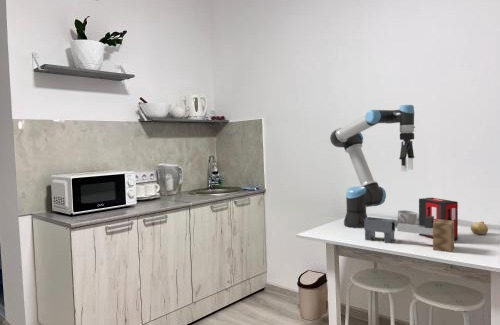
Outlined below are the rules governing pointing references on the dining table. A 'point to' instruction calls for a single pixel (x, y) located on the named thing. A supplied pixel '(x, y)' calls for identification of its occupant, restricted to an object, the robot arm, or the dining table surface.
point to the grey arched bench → (379, 228)
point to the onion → (479, 228)
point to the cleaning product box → (438, 212)
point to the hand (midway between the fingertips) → (407, 170)
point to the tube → (418, 227)
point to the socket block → (443, 235)
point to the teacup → (407, 217)
